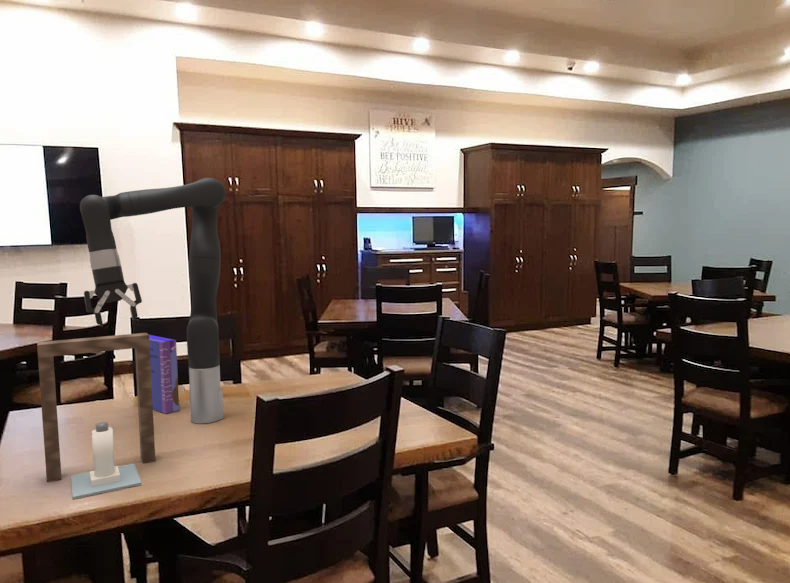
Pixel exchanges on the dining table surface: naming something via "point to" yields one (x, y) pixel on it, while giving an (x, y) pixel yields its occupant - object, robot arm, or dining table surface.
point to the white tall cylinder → (103, 456)
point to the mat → (84, 488)
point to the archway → (88, 346)
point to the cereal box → (164, 374)
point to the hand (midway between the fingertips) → (118, 322)
